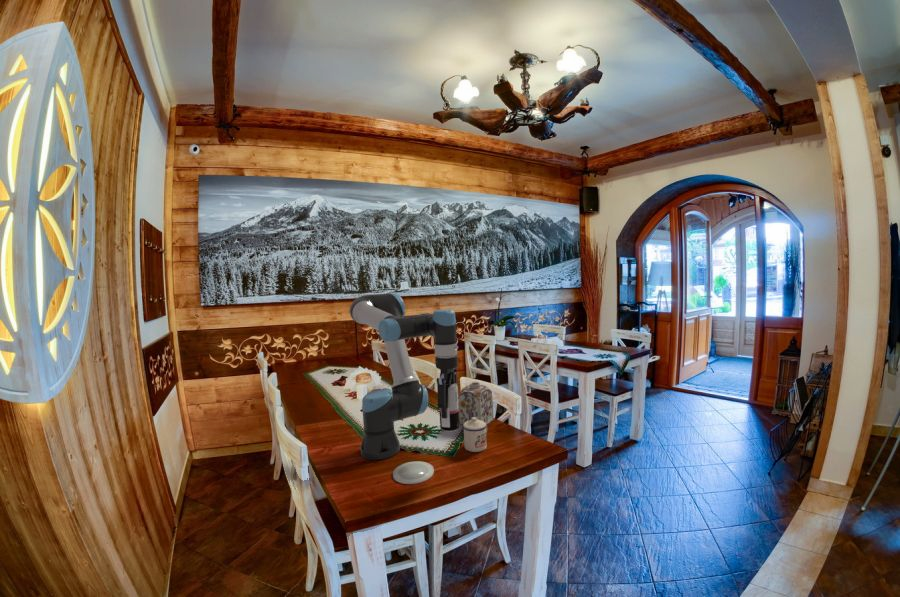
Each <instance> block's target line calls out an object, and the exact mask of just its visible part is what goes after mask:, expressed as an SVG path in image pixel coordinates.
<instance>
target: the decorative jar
mask: <svg viewBox="0 0 900 597" xmlns="http://www.w3.org/2000/svg"><path fill="white" fill-rule="evenodd" d="M458 397H459V399H458V405H459V425H463V424H464V423H465V422H467V421H470V420H472V418H473V417H476V418H477V420H481V421H483V422H485V424H486V425H487V426H488V425H489V424H490V423H491V422H493V421H494V401H493V400H494V399H493V391H492V390H491V389H490V388H489V387H487V386H486V385H485V384H481V383H480V382H477V381H473V382H470V383H469V385H465V386H464V387H463V388H461V390H460V392H458Z"/></svg>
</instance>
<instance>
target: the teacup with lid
mask: <svg viewBox="0 0 900 597" xmlns="http://www.w3.org/2000/svg"><path fill="white" fill-rule="evenodd" d="M462 428H463V440H464V441H463V442H464V449H465V450H466V451H469V452H473V453H479V452H482V451H485V450H486V449H487V433H488V424H487V425H486V424H485V422H483V421H481V420H477V418H476V417H473V418H472V420H470V421H467V422H465V423H464V424H462Z"/></svg>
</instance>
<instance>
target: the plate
mask: <svg viewBox="0 0 900 597" xmlns="http://www.w3.org/2000/svg"><path fill="white" fill-rule="evenodd" d="M434 473H435V470H434V466H433V465H432V464H430V463H428V462H427V461H426V462H425V461H420V460H418V461H417V460H416V461H414V460H413V461H408V462H405V463H402V464H400V465H398V466H396V468H395V469H394V470H393V472H392V478H393V480H394V481H396V482H398V483H400V484H403V485H417V484H421V483H423V482H425V481H427V480H430V479H431V478H432V477H433V476H434Z"/></svg>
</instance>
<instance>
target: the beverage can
mask: <svg viewBox="0 0 900 597" xmlns="http://www.w3.org/2000/svg"><path fill="white" fill-rule="evenodd" d="M457 384H458V383H457ZM457 384H456V383H454V384H451V386H450V387H449V388H448V407H449V415H450V427H442V423H441V408H438V409H439V427H440V428H439V429H441V430H442V431H444V432H447V433H449V432H455V431H458V429H460V418H459V399H458V397H459V385H458V386H457ZM446 385H448V384H446Z"/></svg>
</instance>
